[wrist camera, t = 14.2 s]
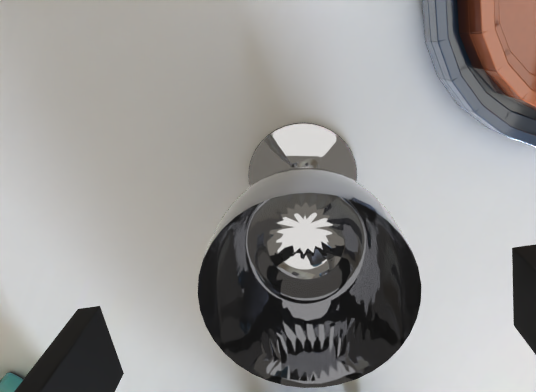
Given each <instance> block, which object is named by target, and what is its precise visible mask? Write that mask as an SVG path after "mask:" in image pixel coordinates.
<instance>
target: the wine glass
mask: <svg viewBox="0 0 536 392" xmlns="http://www.w3.org/2000/svg"><path fill="white" fill-rule="evenodd" d="M356 180H357V168H356V163H355V159H354V157H353V154H352V152H351V150H350V148H349V147H348V145H347V144H346V143H345V142H344V141H343V139H342V138H341V137H340V136H338V135H337V134H336V133H334V132H333V131H331V130H329V129H327V128H325V127H323V126H319V125H316V124H310V123H295V124H291V125H287V126H284V127H281V128H279V129H277V130H275V131H274V132H272V133H271V134H269V135H268V136H267V137H266V138H265V139H264V140H263V141H262V142H261V143H260V144H259V146H258V147H257V148H256V150H255V152H254V154H253V156H252V159H251V162H250V166H249V184H250V187H249V188H248V189H247V190H246V191H245V192H244V193H243V194H242V195H240V196H239V197H238V198H237V200H236V201H235V202H234V203H233V204H232V205H231V206H230V208H229V209H228V210H227V212H226V213H225V214H224V216H223V217H222V219H221V221H220V223H219V224H218V226H217V228H216V230H215V232H214V234H213V236H212V238H211V241H210V243H209V245H208V247H207V250H206V252H205V255H204V258H203V262H202V266H201V270H200V274H199V282H198V298H199V305H200V311H201V314H202V316H203V319H204V322H205V325H206V327H207V329H208V331H209V332H210V334H211V336H212V338H213V339H214V341H215V342H216V343H217V345H218V346H219V347H220V348H221V349H222V351H223V352H224V353H225V354H226V355H227V356H228V357H230V358H231V359H232V360H233V361H234V362H235V363H236V364H238V365H239V366H241V367H242V368H244V369H246V370H247V371H249V372H250V373H252V374H254V375H256V376H259V377H261V378H263V379H266V380H268V381H271V382H275V383H279V384H282V385H286V386H295V387H303V388H310V387H326V386H332V385H339V384H342V383H345V382H348V381H352V380H355V379H357V378H360V377H362V376H364V375H366V374H368V373H370V372H372V371H373V370H375V369H376V368H378V367H379V366H380V365H382V364H383V363H385V362H386V361H387V360H388V359H389V358H390V357H391V356H392V355H393V354H394V353H395V352H396V351H397V350H399V349H400V347H401V346H402V344H403V343H404V341H405V340H406V339H407V337H408V336H409V334H410V332H411V330H412V328H413V325H414V323H415V321H416V319H417V315H418V311H419V306H420V302H421V281H420V276H419V270H418V266H417V263H416V261H415V258H414V255H413V253H412V250H411V248H410V246H409V244H408V242H407V240H406V238H405V236H404V234H403V233H402V231H401V229H400V228H399V226H398V225H397V223H396V222H395V220H394V219H393V217H392V216H391V214H390V213H389V211H388V210H387V208H386V207H385V206H384V205H383V204H382V203H381V202H380V201H379V200H378V199H377V198H376V197H375V196H374V195H373V194H372V193H371V192H369V191H368V190H367V189H366V188H364V187H363V186H361V185H360V184H359V183H357V182H356Z"/></svg>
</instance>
